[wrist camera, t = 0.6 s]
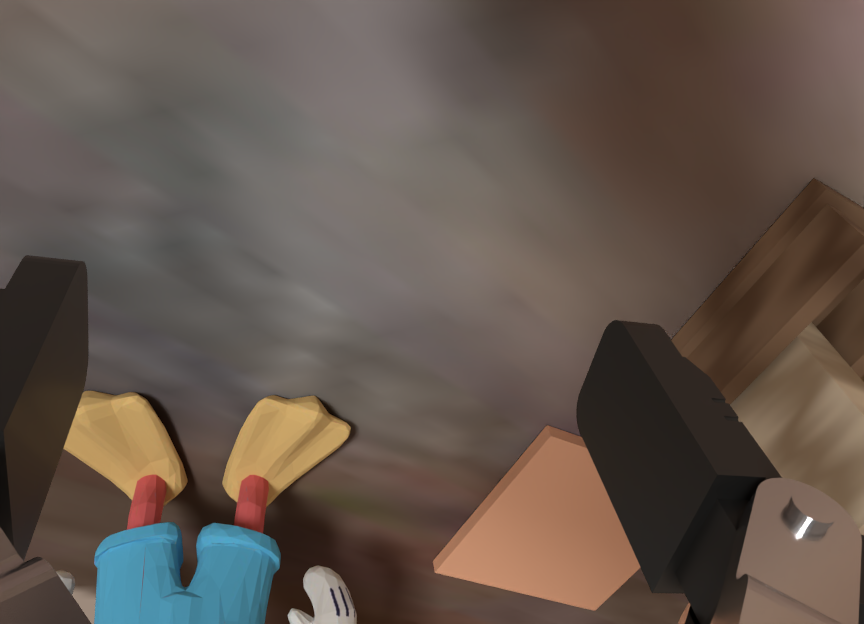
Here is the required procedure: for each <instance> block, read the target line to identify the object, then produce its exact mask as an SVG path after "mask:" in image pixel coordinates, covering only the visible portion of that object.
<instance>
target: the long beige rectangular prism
mask: <svg viewBox="0 0 864 624" xmlns="http://www.w3.org/2000/svg"><path fill="white" fill-rule="evenodd" d="M730 406H731V407H732V409H733V410H734V411H735V413H736V414H737V416H738V417H739V418H738V421H739V422H743V424H744V425H745V427H746V428H747V429H748V431H749V432H750V434H751V435H752V436H753V438H754V439H755V441H756V442H757V443H758V445H759V446H760V448H761V449H762V450H763V452H764V453H765V455H766V456H767V457H768V459H769V460H770V462H771V463H772V464H773V466H774V467H775V468H776V470H777V471H778V473H779V474H780V475H781V477H782V478H787V479H792V480H796V481H799V482H802V483H805V484H807V485H810V486H812V487H814V488H816V489H818V490H820V491H821V492H823V493H825V494H826V495H828V496H829V497H831V498H832V499H833V500H835V501H836V502H837V503H838V504H839V505H840V506H842V507H843V508H844V509H845V510H846V511H847V512H848V514H849V515H850V516H851V517H852V518H853V520H854V521H855V523H856V524H857V526H858V528H859V530H860V533H861V535H864V382H863V381H862V379H861V378H860V377H859V376H858V375H857V374H856V372H855V371H854V370H853V369H852V368H851V367H850V366H849V364H848V363H847V362H846V361H845V360H844V359H843V358H842V356H841V355H840V354H839V353H838V352H837V351H836V350H835V348H834V347H833V346H832V345H831V344H830V343H829V341H828V340H827V339H826V338H825V337H824V336H823V335H822V333H821V332H820V331H819V330H818V329H817V328H816V327H815V325H814V324H813V323H812V322H811V323H810V324H809V325H808V326H807V327H806V328H805V329H804V330H803V331H802V332H801V333H800V334H799V335H798V336H797V337H796V338H795V339H794V340H793V341H792V342H791V343H790V344H789V345H788V346H787V347H786V348H785V349H784V350H783V351H782V352H781V353H780V354H779V355H778V357H777V358H776V359H775V360H774V361H773V362H772V363H771V364H770V365H769V366H768V367H767V368H766V369H765V370H764V371H763V372H762V373H761V374H760V375H759V376H758V377H757V378H756V379H755V380H754V381H753V382H752V383H751V384H750V385H749V386H748V387H747V388H746V389H745V390H744V391H743V392H742V393H741V394H740V395H739V396H738V397H737V398H736V399H735V400H734V401H733V402H732V403H731V404H730Z"/></svg>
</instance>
